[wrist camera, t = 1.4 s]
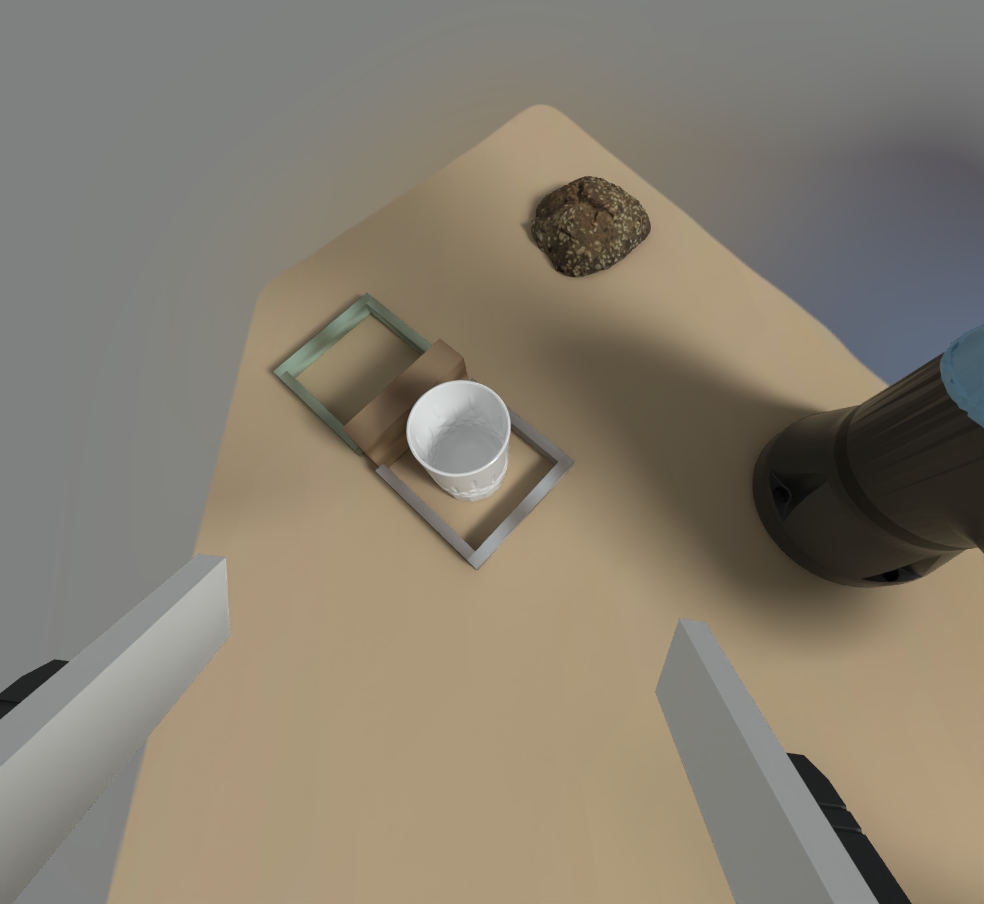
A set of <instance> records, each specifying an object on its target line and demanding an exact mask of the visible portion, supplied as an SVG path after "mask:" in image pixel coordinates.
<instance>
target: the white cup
mask: <svg viewBox="0 0 984 904" xmlns="http://www.w3.org/2000/svg"><path fill="white" fill-rule="evenodd" d="M510 429H511V423H510V416H509V413H508V410H507V408H506V406H505V404H504V402H503V401H502V399H501V398H500V397H499V396H498V395H497V394H496V393H495V392H494V391H493V390H491V389H490V388H488V387H486V386H484V385H482V384H480V383H477V382H473V381H466V380H456V381H450V382H445V383H442V384H440V385H437V386H435V387H433V388H432V389H430V390H429V391H427V392H426V393H425V394H423V395H422V396H421V397H420V398H419V400H418V401H417V402H416V403H415V405H414V406H413V408H412V410H411V412H410V414H409V417H408V421H407V429H406V434H407V441H408V444H409V447H410V449H411V451H412V453H413V455H414V456H415V458H416V459H417V460H418V461H419V463H420V464H421V465H422V466H423V467H424V469H425V470H426V471H427V472H428V474H429V475H430V476H431V477H432V478H433V479H434V481H435V482H436V483H437V484H438V485H439V486H440V487H441V488H442V489H443V490H444V491H446V492H447V493H448V494H450V495H451V496H452V497H454V498H455V499H457V500H463V501H468V502H474V501H478V500H482V499H485V498H488V497H489V496H490V495H492V494H493V493H494V492H495V491H496V490H498V489H499V488H500V486H501V484H502V482H503V480H504V478H505V475H506V472H507V464H508V457H509V447H510Z"/></svg>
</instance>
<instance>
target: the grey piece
mask: <svg viewBox="0 0 984 904" xmlns="http://www.w3.org/2000/svg"><path fill="white" fill-rule="evenodd" d="M370 313H372V314H373V315H374V316H375V317H376V318H378V319H379V320H380V321H381V322H382V323H384V324H385V325H386V326H387V327H389V328H390V329H391V330H392V331H393V332H395V333H396V334H397V335H398V336H399V337H401V338H402V339H403V340H404V341H405V342H407V343H408V344H409V345H410V346H411V347H413V348H414V349H415V350H416V351H418V352H419V353H420V354H421V355H422V356H421V357H419V358H418V359H417V360H416V361H415V362H414V363H413V364H412V365H411V366H410V367H408V368H407V369H406V370H405V371H404V372H403V373H402V374H401V375H400V376H399V377H397V378H396V379H395V380H394V381H393V382H392V383H391V384H390V385H389V386H388V387H386V388H385V389H384V390H383V391H382V392H381V393H380V394H379V395H378V396H377V397H375V398H374V399H373V400H372V401H371V402H370V403H369V404H368V405H367V406H366V407H364V408H363V409H362V410H361V411H360V412H359V413H358V414H357V415H356V416H355V417H353V418H352V419H351V420H350V421H349V422H348V423H347V424H346V425H345V426H344V425H343V424H342V423H341V422H340V421H339V420H338V419H336V418H335V417H334V416H333V415H332V414H331V413H330V412H329V411H328V410H327V409H326V408H325V407H324V406H323V405H322V404H321V403H320V402H319V401H318V400H317V399H316V398H315V397H314V396H313V395H311V394H310V393H309V392H308V391H307V390H306V389H305V388H304V387H303V386H302V385H301V384H300V383H299V382H298V381H297V380H296V379H295V377H296V376H297V375H299V374H300V373H301V372H302V371H303V370H304V369H306V368H307V367H308V366H309V365H310V364H311V363H313V362H314V361H315V360H316V359H317V358H318V357H320V356H321V355H322V354H323V353H324V352H326V351H327V350H328V349H329V348H330V347H331V346H333V345H334V344H335V343H336V342H337V341H338V340H340V339H341V338H342V337H343V336H344V335H345V334H347V333H348V332H349V331H350V330H351V329H352V328H354V327H355V326H356V325H357V324H358V323H360V322H361V321H362V320H363V319H364V318H365V317H367V316H368V315H369V314H370ZM273 372H274V373H275V374H276V375H277V376H278V377H279V378H280V379H281V380H282V381H283V382H284V383H285V384H286V385H287V386H288V387H289V388H290V389H291V390H292V391H293V392H295V393H296V394H297V395H298V396H299V397H300V398H301V399H302V400H303V401H304V402H305V403H306V404H307V405H308V406H309V407H310V408H311V409H312V410H313V411H314V412H315V413H316V414H317V415H318V416H319V417H320V418H321V419H322V420H323V421H324V422H325V423H326V424H327V425H328V426H329V427H330V428H331V429H333V430H334V431H335V432H336V433H337V434H338V435H339V436H340V437H341V438H342V439H343V440H344V441H345V442H346V443H347V444H348V445H349V446H350V447H351V448H352V449H353V450H354V451H355V452H356V453H357V454H358V455H359V456H361V455H362V454H363V453H365V454H366V455H367V456H368V457H369V458H370V459H371V460H372V461H373V462H374V463H375V464H376V465H377V466H378V467H379V468H378V469H377V470H376V472H377V473H378V474H379V475H380V476H381V477H382V478H383V479H384V480H385V481H386V482H387V483H388V484H389V485H390V486H391V487H392V488H393V489H394V490H395V491H396V492H397V493H398V494H399V495H400V496H401V497H402V498H403V499H404V500H405V501H406V502H408V503H409V504H410V505H411V506H412V507H413V508H414V509H415V510H416V511H417V512H418V513H419V514H420V515H421V516H422V517H423V518H424V519H425V520H426V521H427V522H428V523H429V524H430V525H431V526H432V527H433V528H434V529H435V530H436V531H437V532H438V533H439V534H440V535H441V536H442V537H443V538H444V539H446V540H447V541H448V542H449V543H450V544H451V545H452V546H453V547H454V548H455V549H456V550H457V551H458V552H459V553H460V554H461V555H462V556H463V557H464V558H465V559H466V560H467V561H468V562H469V563H470V564H471V565H472V566H473V567H474V568H475V569H476V570H478V569H479V568H480V567H481V566H482V565H483V564H484V563H485V561H486V560H487V559H488V558H489V557H490V556H491V555H492V554H493V553H494V552H495V551H496V549H497V548H498V547H499V546H500V545H501V544H502V543H503V542H504V541H505V540H506V539H507V537H508V536H509V535H510V534H511V533H512V532H513V531H514V530H515V529H516V528H517V527H518V525H519V524H520V523H521V522H522V521H523V520H524V519H525V518H526V517H527V516H528V515H529V513H530V512H531V511H532V510H533V509H534V508H535V507H536V506H537V505H538V504H539V503H540V501H541V500H542V499H543V498H544V497H545V496H546V495H547V494H548V493H549V492H550V491H551V489H552V488H553V487H554V486H555V485H556V484H557V483H558V482H559V481H560V480H561V479H562V477H563V476H564V475H565V474H566V473H567V472H568V471H569V470H570V469H571V468H572V466H573V463H574V460H572V459H571V458H570V457H569V456H567V455H566V454H565V453H564V452H563V451H561V450H560V449H559V448H558V447H556V446H555V445H554V444H553V443H551V442H550V441H549V440H548V439H547V438H545V437H544V436H543V435H542V434H540V433H539V432H538V431H537V430H535V429H534V428H533V427H532V426H531V425H529V424H528V423H527V422H526V421H524V420H523V419H522V418H521V417H519V416H518V415H517V414H516V413H515V412H513V411H512V410H511V409H510V408H508V407H507V406H506V405H505V406H506V408H507V410H508V413H509V416H510V423H511V429H512V430H513V431H514V432H515V433H517V434H518V435H519V436H520V437H521V438H523V439H524V440H525V441H526V442H527V443H529V444H530V445H531V446H532V447H533V448H535V449H536V450H537V451H538V452H539V453H541V454H542V455H543V456H544V457H545V458H547V459H548V460H549V461H550V462H552V463H553V464H554V465H555V466H554V467H553V468H552V469H551V471H550V472H549V473H548V474H547V475H546V476H545V477H544V478H543V479H542V480H541V481H540V482H539V483H538V485H537V486H536V487H535V488H534V489H533V490H532V491H531V492H530V493H529V494H528V495H527V496H526V497H525V499H524V500H523V501H522V502H521V503H520V504H519V505H518V506H517V507H516V508H515V509H514V510H513V511H512V513H511V514H510V515H509V516H508V517H507V518H506V519H505V520H504V521H503V522H502V523H501V524H500V525H499V527H498V528H497V529H496V530H495V531H494V532H493V533H492V534H491V535H490V536H489V537H488V538H487V539H486V541H485V542H484V543H483V544H482V545H481V546H480V547H479V548H478V549H477V550H476V551H474V550H473V549H472V548H471V547H470V546H469V545H468V544H467V543H466V542H465V541H464V540H463V539H462V538H461V537H460V536H459V535H457V534H456V533H455V532H454V531H453V530H452V529H451V528H450V527H449V526H448V525H447V524H446V523H445V522H444V521H443V520H442V519H441V518H440V517H439V516H438V515H437V514H436V513H435V512H433V511H432V510H431V509H430V508H429V507H428V506H427V505H426V504H425V503H424V502H423V501H422V500H421V499H420V498H419V497H418V496H417V495H416V494H415V493H414V492H413V491H412V490H411V489H409V488H408V487H407V486H406V485H405V484H404V483H403V482H402V481H401V480H400V479H399V478H398V477H397V476H396V475H395V474H394V473H393V472H392V471H391V470H390V469H389V467H390V466H391V465H392V464H393V463H394V462H395V461H396V460H397V459H398V458H399V457H400V456H401V455H402V454H404V453H405V452H406V451H407V450H408V449H409V448H410V447H409V444H408V441H407V434H406V429H407V421H408V417H409V414H410V412H411V410H412V408H413V406H414V405H415V403H416V402H417V401H418V400H419V398H420V397H421V396H422V395H423V394H425V393H426V392H427V391H429V390H430V389H432V388H433V387H435V386H437V385H440V384H442V383H445V382H450V381H456V380H466V381H468V376H467V372H466V367H465V363H464V358H463V357H462V356H461V355H460V354H459V353H457V352H456V351H455V350H454V349H452V348H451V347H450V346H449V345H447V344H446V343H445V342H444V341H442V340H441V339H439V340H438V341H437V342H436V343H435V344H434V345H433V346H432V345H431V344H430V343H428V342H427V341H426V340H425V339H423V338H422V337H421V336H420V335H418V334H417V333H416V332H415V331H414V330H412V329H411V328H410V327H409V326H407V325H406V324H405V323H404V322H402V321H401V320H400V319H399V318H398V317H396V316H395V315H394V314H393V313H391V312H390V311H389V310H388V309H386V308H385V307H384V306H383V305H382V304H380V303H379V302H378V301H377V300H375V299H374V298H373V297H372V296H370V295H369V294H368V293H366V294H365V295H364V296H363V297H361V298H360V299H359V300H358V301H357V302H356V303H354V304H353V305H352V306H351V307H350V308H348V309H347V310H346V311H345V312H344V313H342V314H341V315H340V316H339V317H338V318H336V319H335V320H334V321H333V322H332V323H330V324H329V325H328V326H327V327H326V328H324V329H323V330H322V331H321V332H320V333H319V334H317V335H316V336H315V337H314V338H313V339H311V340H310V341H309V342H308V343H307V344H305V345H304V346H303V347H302V348H301V349H299V350H298V351H297V352H296V353H295V354H293V355H292V356H291V357H290V358H289V359H287V360H286V361H285V362H284V363H283V364H282V365H280V366H279V367H278V368H277V369H276V370H274V371H273ZM470 381H473V382H476V381H475V380H474V379H473V378H472V379H471V380H470ZM477 383H478V382H477Z"/></svg>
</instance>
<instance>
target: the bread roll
mask: <svg viewBox="0 0 984 904" xmlns="http://www.w3.org/2000/svg"><path fill="white" fill-rule="evenodd" d="M532 223H533V225H532V234H533V238H534V239H535V240H536V241H537V244H538V247H539V248H540V249H541V251H542V252H545V253H546V254H547V255H548V256H549V257H550V259H551V260H552V262H553V264H554V267H555V269H556V271H560V272H563V273H564V274H565V275H568V276H571V277H579V276H585V275H589V274H592V273H596V272H598V271H600V270H605V269H608V268H610V267H611V266H612V265H614V264H616V263H617V262H618V261H620V260H622V259H624V258H625V257H626V256H627V255H628V254H629V253H630V252H631V251H632V249H634V248H635V247H636V246H637V245H638V244H640V243H641V242H642V241H643V240H645V239H646V237H647V236H648V234H649V233H650V229H651V225H650V221H649V218H648V215H647V214H646V212H645V209H643V208H642V206H641V205H640V203H639V201H637V200H636V199H635V198H634V197H632V196H630V195H629V194H628V193H627V192H626V191H624V190H623V189H622V188H621V187H619V186H615V184H612V183H608V182H607V181H605V180H604V179H603V178H597V177H592V176H585V177H582V178H579V179H577V180H574V181H573V182H570V183H569V185H564V186H563V187H562V188H560V189H557V190H556V191H553V192H552V193H551V194H549V195H546V197H545V198H543V200H542V201H541V203H540V204H539V205H538V207H537V209H536V220H532Z"/></svg>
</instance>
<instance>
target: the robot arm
mask: <svg viewBox="0 0 984 904" xmlns="http://www.w3.org/2000/svg"><path fill="white" fill-rule="evenodd" d="M753 491H754V498H755V503H756V507H757V510H758V513H759V515H760V518H761V520H762V522H763V524H764V526H765V527H766V529H767V531H768V532H769V534H770V535H771V537H772V538H773V539H774V541H775V542H776V543H777V544H778V546H779V547H780V548H781V549H782V550H783V551H784V552H785V553H786V554H787V555H788V556H789V557H790V558H792V559H793V560H794V561H795V562H797V563H798V564H799V565H801V566H802V567H804V568H805V569H807V570H809V571H810V572H812V573H814V574H816V575H818V576H820V577H822V578H824V579H827V580H829V581H832V582H835V583H839V584H843V585H847V586H853V587H881V586H891V585H899V584H904V583H908V582H911V581H914V580H917V579H919V578H922V577H924V576H926V575H928V574H929V573H931V572H933V571H934V570H936V569H937V568H939V567H940V566H942V565H943V564H945V563H946V562H948V561H949V560H951V559H952V558H954V557H955V556H957V555H959V554H960V553H962V552H963V551H965V550H966V549H971V548H977V547H978V548H979V549H980V550H981V551H982V552H983V553H984V324H983V325H981V326H978V327H976V328H973V329H971V330H969V331H968V332H966V333H965V334H963V335H961V336H960V337H959V338H957V339H956V340H955V341H954V342H952V343H951V345H950V347H949V348H948V349H947V350H946V351H945V352H944V353H942V354H941V355H939V356H937V357H936V358H934V359H933V360H931V361H929V362H928V363H926V364H925V365H923V366H921V367H920V368H918V369H917V370H915V371H914V372H912V373H910V374H909V375H907V376H905V377H904V378H902V379H901V380H899V381H897V382H896V383H894V384H893V385H891V386H889V387H888V388H886V389H885V390H883V391H881V392H880V393H878V394H877V395H875V396H873V397H872V398H870V399H869V400H867V401H866V402H864V403H863V404H861V405H857V406H852V407H847V408H842V409H838V410H833V411H829V412H822V413H818V414H814V415H811V416H808V417H805V418H803V419H801V420H799V421H797V422H795V423H793V424H792V425H790V426H789V427H787V428H786V429H784V430H783V431H782V432H780V433H779V434H778V435H776V436H775V437H774V438H773V439H772V440H771V441H770V442H769V443H768V444H767V445H766V446H765V448H764V449H763V451H762V452H761V454H760V456H759V458H758V461H757V463H756V467H755V471H754V478H753ZM229 636H230V624H229V607H228V590H227V572H226V557H219V556H212V555H205V554H198V555H196V556H195V557H194V558H193V559H192V560H191V561H189V562H188V563H187V564H186V565H185V566H183V567H182V568H181V569H180V570H179V571H177V572H176V573H175V574H174V575H173V576H172V577H170V578H169V579H168V580H167V581H165V582H164V583H163V584H162V585H161V586H159V587H158V588H157V589H156V590H155V591H154V592H152V593H151V594H150V595H149V596H147V597H146V598H145V599H144V600H143V601H142V602H140V603H139V604H138V605H137V606H136V607H135V608H133V609H132V610H131V611H130V612H128V613H127V614H126V615H125V616H124V617H122V618H121V619H120V620H119V621H118V622H116V623H115V624H114V625H113V626H112V627H110V628H109V629H108V630H107V631H106V632H105V633H103V634H102V635H101V636H100V637H99V638H97V639H96V640H95V641H94V642H93V643H91V644H90V645H89V646H88V647H87V648H85V649H84V650H83V651H82V652H81V653H79V654H78V655H77V656H76V657H75V658H73V659H72V660H71V661H70V662H69V661H62V660H55V659H54V660H53V661H51V662H49V663H47V664H45V665H43V666H41V667H39V668H37V669H35V670H33V671H32V672H30V673H28V674H26V675H24V676H22V677H21V678H19V679H18V680H17V681H15V682H14V683H13V684H12V685H10V686H9V687H8V688H6V689H5V690H4V691H3V692H1V693H0V904H12V903H13V902H14V901H15V900H16V899H17V897H18V896H19V895H20V894H21V892H22V891H23V890H24V889H25V888H26V886H27V885H28V884H29V883H30V881H31V880H32V879H33V878H34V876H35V875H36V874H37V873H38V872H39V870H40V869H41V868H42V867H43V865H44V864H45V863H46V862H47V860H48V859H49V858H50V857H51V855H52V854H53V853H54V852H55V850H56V849H57V848H58V847H59V846H60V844H61V843H62V842H63V840H65V838H66V837H67V836H68V835H69V833H70V832H71V831H72V829H73V828H74V827H75V826H76V824H78V822H79V821H80V820H81V819H82V817H83V816H84V815H85V814H86V812H87V811H88V810H89V808H91V806H92V805H93V804H94V803H95V801H96V800H97V799H98V798H99V796H100V795H101V794H102V793H103V792H104V790H105V789H106V788H107V787H108V785H109V784H110V783H111V782H112V780H113V779H114V778H115V777H116V775H117V774H118V773H119V772H120V771H121V769H122V768H123V767H124V766H125V764H126V763H127V762H128V761H129V760H130V758H131V757H132V756H133V754H134V753H135V752H136V751H137V750H138V748H139V747H140V746H141V745H142V744H143V742H144V741H145V740H146V739H147V737H148V736H149V735H150V734H151V732H152V731H153V730H154V729H155V728H156V726H157V725H158V724H159V723H160V721H161V720H162V719H163V718H164V716H165V715H166V714H167V713H168V712H169V710H170V709H171V708H172V707H173V705H174V704H175V703H176V702H177V700H178V699H179V698H180V697H181V696H182V694H183V693H184V692H185V691H186V689H187V688H188V687H189V686H190V684H191V683H192V682H193V681H194V680H195V678H196V677H197V676H198V675H199V673H200V672H201V671H202V670H203V668H204V667H205V666H206V665H207V664H208V662H209V661H210V660H211V659H212V657H213V656H214V655H215V654H216V652H217V651H218V650H219V649H220V648H221V646H222V645H223V644H224V643H225V641H226V640H227V639H228V638H229ZM655 693H656V695H657V698H658V700H659V703H660V706H661V708H662V711H663V714H664V716H665V719H666V721H667V724H668V727H669V729H670V732H671V734H672V737H673V740H674V742H675V745H676V748H677V750H678V753H679V755H680V758H681V761H682V763H683V766H684V769H685V771H686V774H687V776H688V779H689V782H690V784H691V787H692V790H693V792H694V795H695V797H696V800H697V803H698V805H699V808H700V811H701V813H702V816H703V818H704V821H705V824H706V826H707V829H708V832H709V834H710V837H711V839H712V842H713V845H714V847H715V850H716V853H717V855H718V858H719V860H720V863H721V866H722V868H723V871H724V874H725V876H726V879H727V881H728V884H729V887H730V889H731V892H732V895H733V897H734V900H735V902H736V904H912V903H911V902H910V900H909V899H908V898H907V896H906V895H905V893H904V892H903V890H902V889H901V887H900V886H899V884H898V883H897V881H896V880H895V878H894V877H893V875H892V874H891V872H890V871H889V869H888V868H887V866H886V865H885V863H884V862H883V860H882V859H881V857H880V856H879V854H878V853H877V851H876V850H875V848H874V847H873V845H872V844H871V842H870V841H869V839H868V838H867V836H866V835H864V834H862V832H861V827H860V826H859V824H858V823H857V822H856V820H855V819H854V817H853V816H852V814H851V813H850V811H847V810H846V805H845V804H844V802H843V801H842V799H841V798H840V796H839V795H838V793H837V792H836V790H835V789H834V787H833V786H832V784H831V783H830V781H829V780H828V779H827V778H826V777H825V776H824V775H823V774H822V773H821V772H820V771H819V770H818V769H817V768H816V767H815V766H814V765H813V764H812V763H811V762H810V761H809V760H808V759H807V758H806V757H805V756H804V755H799V754H791V753H786V752H785V751H784V749H783V747H782V746H781V744H780V742H779V741H778V739H777V738H776V736H775V734H774V733H773V731H772V730H771V728H770V726H769V725H768V723H767V721H766V720H765V718H764V717H763V715H762V713H761V712H760V710H759V708H758V707H757V705H756V704H755V702H754V700H753V699H752V697H751V695H750V694H749V692H748V691H747V689H746V687H745V686H744V684H743V683H742V681H741V679H740V678H739V676H738V674H737V673H736V671H735V670H734V668H733V666H732V665H731V663H730V661H729V660H728V658H727V657H726V655H725V653H724V652H723V650H722V648H721V647H720V645H719V644H718V642H717V640H716V639H715V637H714V636H713V634H712V632H711V631H710V629H709V627H708V626H707V624H706V623H705V622H702V621H694V620H687V619H679V621H678V624H677V627H676V630H675V633H674V636H673V639H672V642H671V645H670V648H669V651H668V654H667V657H666V660H665V663H664V666H663V669H662V672H661V675H660V678H659V681H658V684H657V687H656V690H655Z"/></svg>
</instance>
